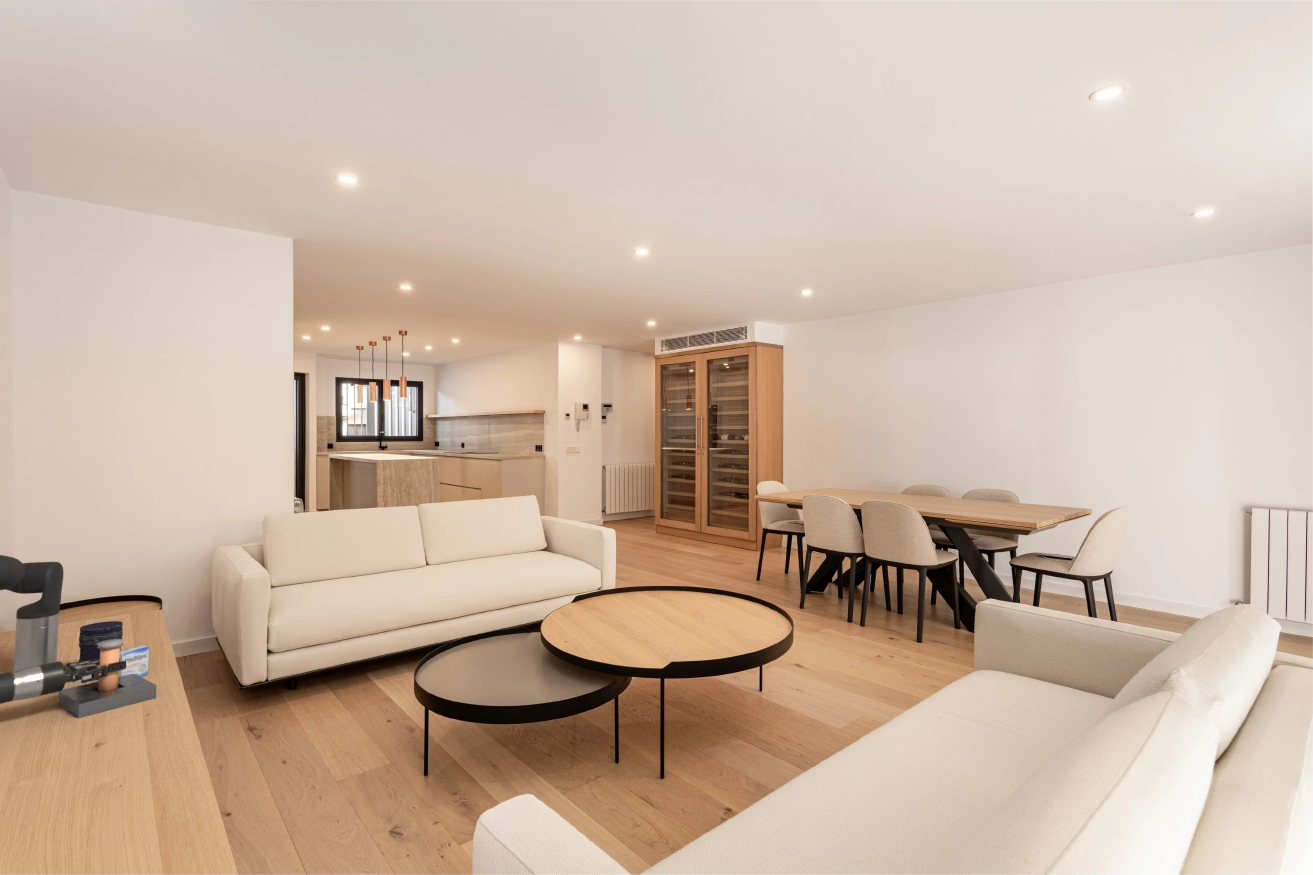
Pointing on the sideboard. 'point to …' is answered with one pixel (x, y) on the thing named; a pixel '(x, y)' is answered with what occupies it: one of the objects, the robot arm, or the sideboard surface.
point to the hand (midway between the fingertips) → (122, 662)
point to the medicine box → (135, 660)
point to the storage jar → (97, 638)
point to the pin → (108, 656)
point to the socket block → (106, 696)
